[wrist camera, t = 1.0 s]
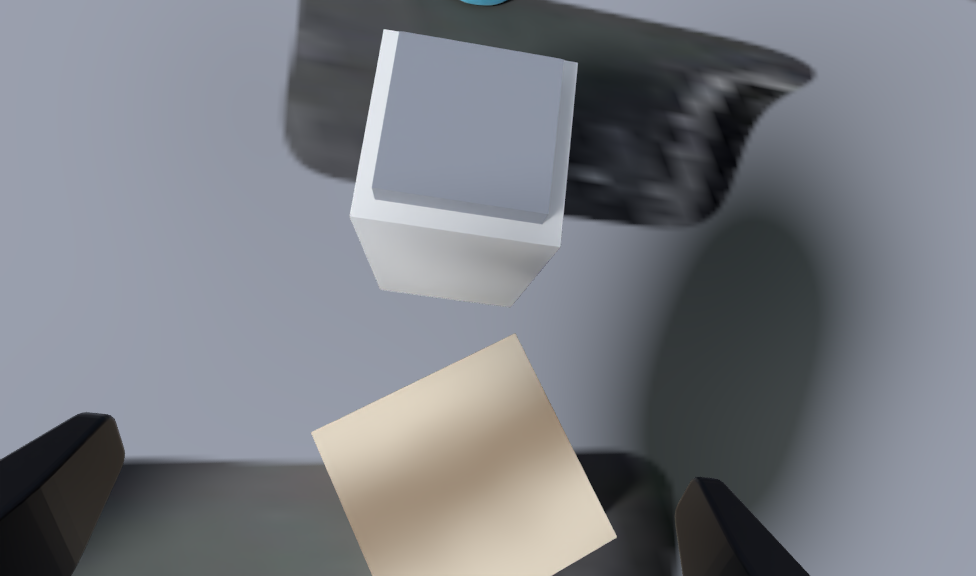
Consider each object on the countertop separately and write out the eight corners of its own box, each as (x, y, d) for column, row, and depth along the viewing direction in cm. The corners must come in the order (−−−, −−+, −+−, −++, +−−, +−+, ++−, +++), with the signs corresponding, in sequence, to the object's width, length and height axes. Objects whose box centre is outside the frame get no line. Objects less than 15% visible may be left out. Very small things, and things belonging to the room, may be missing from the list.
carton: (510, 307, 24) (567, 238, 14) (380, 289, 23) (344, 204, 13) (523, 186, 25) (585, 45, 15) (400, 167, 24) (381, 9, 15)
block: (592, 520, 22) (616, 537, 20) (411, 624, 21) (408, 659, 18) (504, 341, 24) (515, 333, 21) (326, 428, 22) (311, 432, 19)
